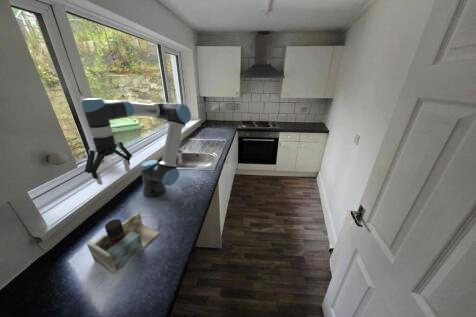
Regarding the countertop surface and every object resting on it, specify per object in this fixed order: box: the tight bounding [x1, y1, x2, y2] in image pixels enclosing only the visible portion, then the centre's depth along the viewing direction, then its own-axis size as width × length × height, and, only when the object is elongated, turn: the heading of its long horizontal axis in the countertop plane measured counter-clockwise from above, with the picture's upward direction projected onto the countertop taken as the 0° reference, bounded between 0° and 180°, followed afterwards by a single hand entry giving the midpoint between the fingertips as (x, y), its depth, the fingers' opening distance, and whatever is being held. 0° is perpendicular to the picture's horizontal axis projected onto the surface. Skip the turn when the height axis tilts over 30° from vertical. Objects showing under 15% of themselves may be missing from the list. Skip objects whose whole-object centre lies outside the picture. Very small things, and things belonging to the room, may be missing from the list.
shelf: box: [86, 211, 161, 275], centre depth 84 cm, size 24×14×11 cm, turn 155°
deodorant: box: [104, 218, 125, 246], centre depth 81 cm, size 6×6×15 cm
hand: (115, 177), depth 86 cm, fingers open, 13 cm apart
